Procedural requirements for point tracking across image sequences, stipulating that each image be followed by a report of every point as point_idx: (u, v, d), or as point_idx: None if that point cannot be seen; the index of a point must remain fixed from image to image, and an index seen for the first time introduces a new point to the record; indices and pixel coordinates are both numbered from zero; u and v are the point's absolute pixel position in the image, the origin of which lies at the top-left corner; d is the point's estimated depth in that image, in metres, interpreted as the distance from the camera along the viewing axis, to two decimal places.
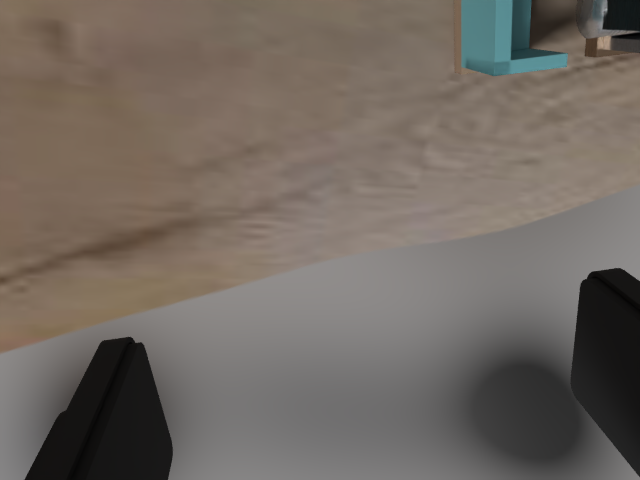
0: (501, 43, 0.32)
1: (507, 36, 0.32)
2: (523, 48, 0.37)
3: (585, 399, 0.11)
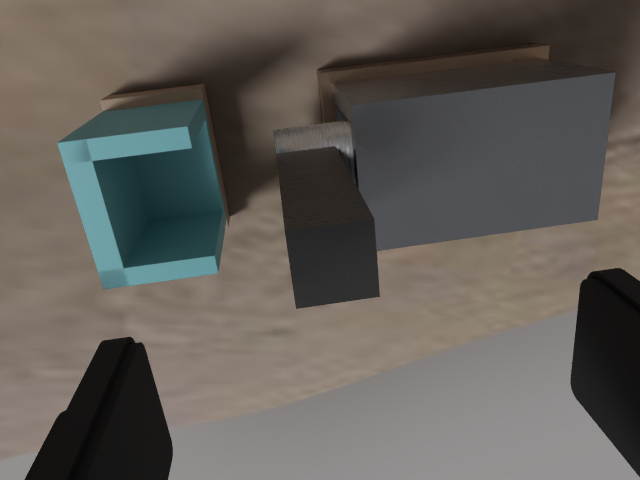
0: (101, 247, 0.20)
1: (107, 237, 0.20)
2: (213, 210, 0.26)
3: (585, 399, 0.11)
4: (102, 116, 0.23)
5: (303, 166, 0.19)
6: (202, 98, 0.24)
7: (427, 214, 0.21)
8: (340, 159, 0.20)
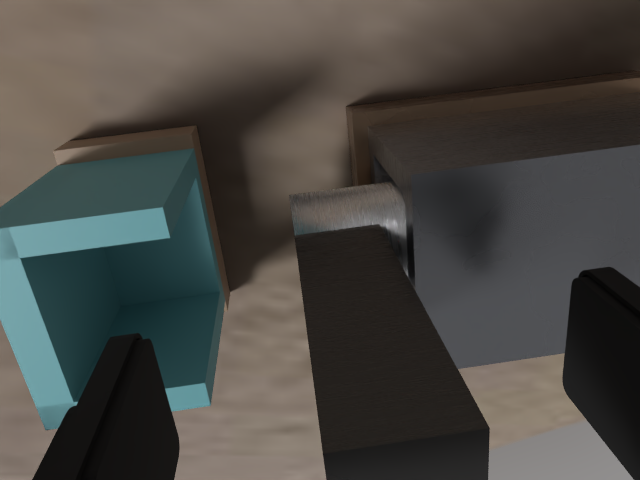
0: (39, 375, 0.14)
1: (48, 361, 0.14)
2: (207, 293, 0.19)
3: (577, 397, 0.11)
4: (53, 175, 0.17)
5: (337, 267, 0.13)
6: (192, 147, 0.18)
7: (512, 322, 0.15)
8: (392, 253, 0.13)
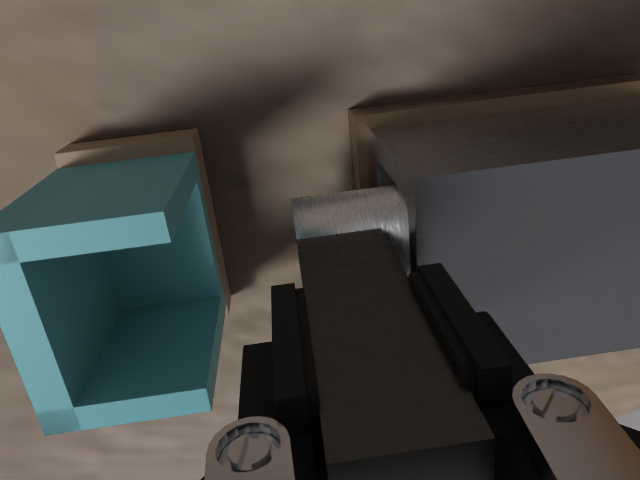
0: (39, 380, 0.14)
1: (48, 366, 0.14)
2: (208, 297, 0.19)
3: None
4: (53, 178, 0.16)
5: (340, 272, 0.13)
6: (193, 150, 0.18)
7: (516, 327, 0.15)
8: (395, 258, 0.13)
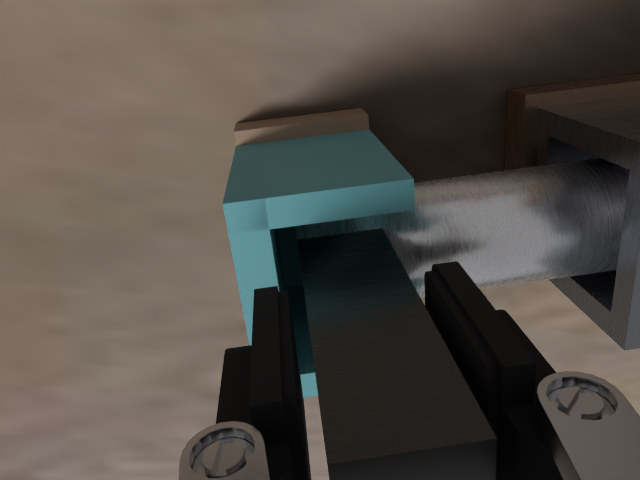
0: None
1: None
2: None
3: None
4: (244, 154, 0.17)
5: (340, 272, 0.13)
6: (368, 128, 0.18)
7: None
8: (396, 258, 0.13)
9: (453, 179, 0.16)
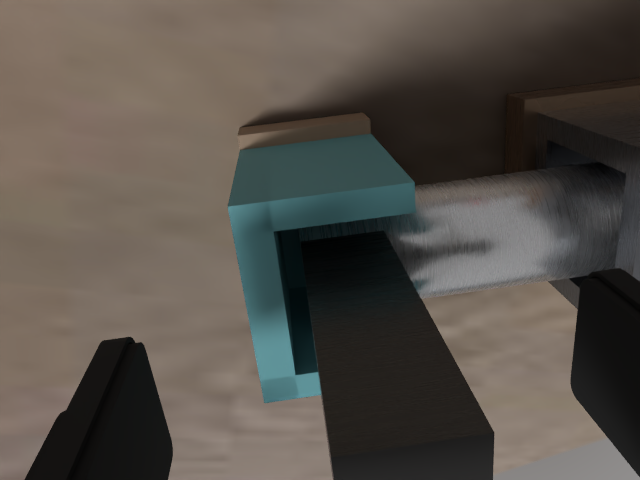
0: (269, 347, 0.14)
1: (280, 334, 0.14)
2: None
3: (585, 399, 0.11)
4: (248, 158, 0.17)
5: (343, 273, 0.13)
6: (369, 132, 0.18)
7: None
8: (397, 260, 0.13)
9: (453, 182, 0.16)
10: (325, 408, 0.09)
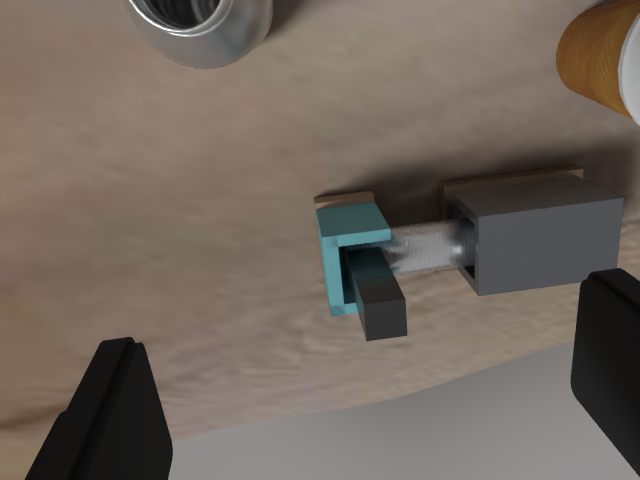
0: (334, 292, 0.37)
1: (338, 287, 0.36)
2: None
3: (585, 399, 0.11)
4: (321, 214, 0.39)
5: (364, 262, 0.35)
6: (374, 201, 0.41)
7: (516, 274, 0.37)
8: (384, 257, 0.35)
9: (409, 225, 0.39)
10: (361, 296, 0.31)
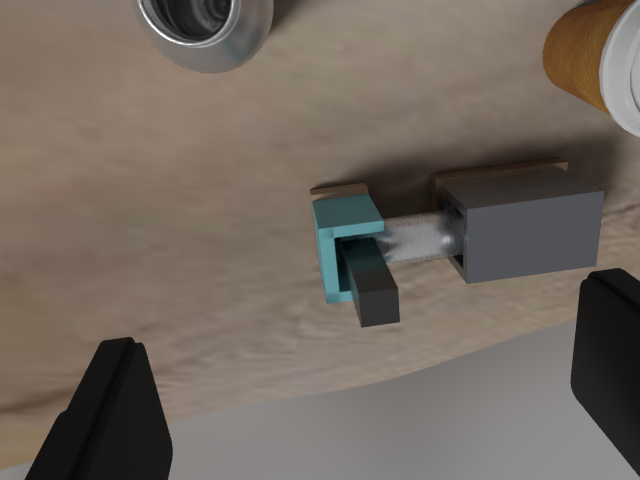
0: (330, 281, 0.38)
1: (334, 275, 0.38)
2: None
3: (585, 399, 0.11)
4: (317, 206, 0.41)
5: (358, 252, 0.37)
6: (367, 193, 0.42)
7: (503, 263, 0.39)
8: (377, 247, 0.37)
9: (401, 217, 0.40)
10: (356, 285, 0.33)
